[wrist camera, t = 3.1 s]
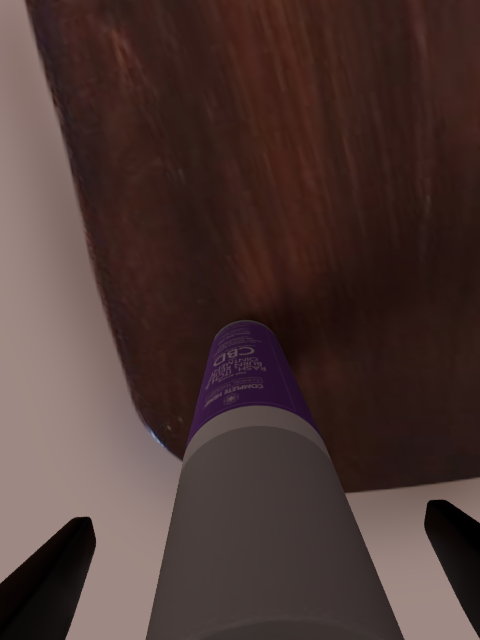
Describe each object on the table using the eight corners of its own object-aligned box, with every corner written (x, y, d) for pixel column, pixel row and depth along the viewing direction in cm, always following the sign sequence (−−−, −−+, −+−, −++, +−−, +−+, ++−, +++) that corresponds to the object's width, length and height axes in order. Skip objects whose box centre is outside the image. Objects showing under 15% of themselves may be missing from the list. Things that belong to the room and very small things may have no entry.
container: (244, 304, 18) (279, 556, 3) (294, 351, 19) (497, 711, 4) (196, 354, 19) (58, 729, 4) (246, 397, 20) (277, 829, 5)
